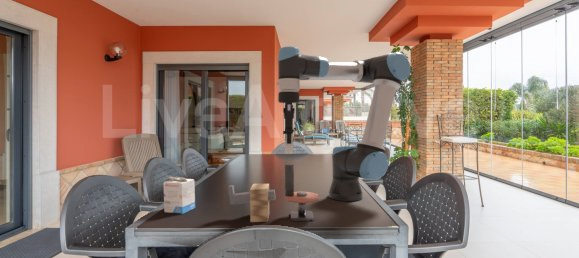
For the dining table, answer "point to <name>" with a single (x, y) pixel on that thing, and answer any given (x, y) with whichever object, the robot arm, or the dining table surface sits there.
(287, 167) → the handwheel
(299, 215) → the wheel post
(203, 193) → the dining table surface
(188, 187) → the ink box
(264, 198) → the eye block
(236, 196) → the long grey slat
